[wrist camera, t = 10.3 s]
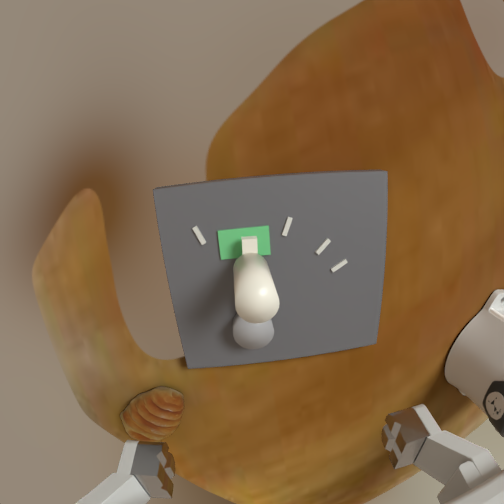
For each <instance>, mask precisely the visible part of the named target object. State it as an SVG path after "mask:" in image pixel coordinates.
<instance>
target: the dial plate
mask: <svg viewBox="0 0 504 504" xmlns="http://www.w3.org/2000/svg"><path fill="white" fill-rule="evenodd" d="M387 192H388V188H387V171H384V170H348V171H324V172H305V173H289V174H276V175H263V176H251V177H240V178H230V179H221V180H211V181H203V182H194V183H186V184H178V185H171V186H164V187H157V188H155V189H153V195H154V202H155V209H156V215H157V222H158V228H159V234H160V240H161V246H162V252H163V256H164V262H165V268H166V273H167V278H168V283H169V288H170V293H171V297H172V303H173V307H174V312H175V316H176V321H177V325H178V329H179V334H180V338H181V342H182V347H183V351H184V355H185V359H186V363H187V367H188V369H190V368H206V367H219V366H231V365H241V364H251V363H260V362H269V361H277V360H284V359H292V358H299V357H305V356H312V355H318V354H324V353H330V352H336V351H341V350H347V349H352V348H357V347H362V346H367V345H372V344H376V341H377V334H378V326H379V319H380V310H381V301H382V292H383V281H384V269H385V254H386V235H387ZM246 236H257V246H258V254H259V255H261V256H262V257H264V258H265V260H266V261H267V264H268V267H269V270H270V273H271V276H272V279H273V282H274V285H275V288H276V291H277V294H278V297H279V309H278V311H277V313H276V314H275V316H274V317H273V318H271V320H272V324H273V328H274V336H273V338H272V340H271V341H270V342H269V343H268V344H267V345H266V346H264V347H262V348H259V349H246V348H244V347H242V346H240V345H239V344H238V343H237V342H236V341H235V339H234V336H233V319H234V317H235V315H236V314H237V312H236V308H235V293H234V274H233V267H234V263H235V261H236V260H237V259H238V258H239V257H240V256H241V255H242V239H241V237H246Z"/></svg>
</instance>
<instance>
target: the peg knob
mask: <svg viewBox="0 0 504 504" xmlns="http://www.w3.org/2000/svg"><path fill="white" fill-rule="evenodd" d="M241 239H242V255H241V256H240V257H239V258H238V259H237V260H236V261H235V263H234V267H233V274H234V293H235V308H236V312H237V314H236V315H235V317H234V319H233V336H234V339H235V341H236V342H237V343H238V344H239V345H240V346H242V347H244V348H246V349H259V348H262V347H264V346H266V345H267V344H268V343H269V342H270V341H271V340H272V338H273V336H274V328H273V324H272V320H271V318H273V317H274V316H275V314H276V313H277V311H278V309H279V297H278V294H277V291H276V288H275V285H274V282H273V279H272V276H271V273H270V270H269V267H268V264H267V261H266V260H265V258H264V257H262V256H261V255H259V254H258V246H257V236H246V237H241Z"/></svg>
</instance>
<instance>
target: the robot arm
mask: <svg viewBox="0 0 504 504" xmlns="http://www.w3.org/2000/svg"><path fill="white" fill-rule="evenodd" d="M445 377H446V380H447V381H448V382H449V383H450V384H452V385H453V386H455V387H456V388H458V390H459V392H460V393H461V394H462V395H464V396H467V397H468V398H470V399H471V400H472V401H473V402H474V403H475V404H476V405H477V406H478V407H479V408H480V409H481V410H482V411H483V412H484V413H485V414H486V415H487V416H488V418H489V420H490V422H491V423H492V425H493V426H494V427H495V429H496V431H497V432H499V433H500V435H501V436H502V437H504V290H496V291H494V292H493V293H492V295H491V296H490V298H489V299H488V301H487V302H486V304H485V306H484V307H483V309H482V310H481V311H480V312H479V313H478V314H477V315H476V316H475V317H474V318H473V319H472V320H471V321H470V322H469V323H468V325H467V326H466V327H465V328H464V330H463V331H462V332H461V334H460V335H459V336H458V338H457V340H456V341H455V343H454V345H453V346H452V348H451V350H450V353H449V355H448V358H447V361H446V365H445ZM385 421H386V423H387V424H386V425H385V426H384V427H383V429H382V442H383V445H384V447H385V449H387V450H388V451H390V455H389V459H390V461H391V463H392V465H393V467H394V469H397V468H400V467H404V466H407V465H410V464H413V463H414V465H415V466H417V467H418V468H420V469H421V470H423V471H424V472H426V473H427V474H429V475H430V476H432V477H433V478H435V479H436V480H438V481H439V482H441V483H442V484H444V485H445V487H444V488H443V489H442V490H441V492H440V493H439V494H438V496H437V497H438V500H439V502H440V504H504V470H501V469H500V467H499V465H498V464H497V462H496V461H495V459H494V458H493V456H492V455H491V453H490V452H489V450H487V449H486V448H483V447H481V446H478V445H476V444H474V443H472V442H470V441H467V440H465V439H463V438H461V437H458V436H456V435H454V434H452V433H450V432H448V431H446V430H444V431H441V429H440V428H439V426H438V425H437V423H436V421H435V420H434V418H433V417H432V415H431V414H430V412H429V411H428V409H427V408H426V406H425V405H424V404H420V405H417V406H414V407H411V408H407V409H404V410H401V411H397V412H394V413H391V414H388V415H387V416H386V419H385ZM168 449H169V447H168V445H167V443H166V442H149V441H136V440H127V441H126V442H125V444H124V447H123V451H122V454H121V458H120V462H119V465H118V469H117V473H112V474H111V475H110V476H108V477H107V478H106V479H105V480H104V481H103V482H101V483H100V484H99V485H98V486H96V487H95V488H94V489H93V490H92V491H90V492H89V493H88V494H87V495H85V496H84V497H83V498H82V499H80V500H79V501H78V502H77V503H75V504H147V502H148V501H149V500H150V499H151V498H150V497H153V498H172V493H173V483H172V481H171V480H170V479H171V478H172V477H174V475H175V461H174V457H173V455H172V454H171V453H170V452H168Z"/></svg>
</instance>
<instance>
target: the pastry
mask: <svg viewBox="0 0 504 504" xmlns="http://www.w3.org/2000/svg"><path fill="white" fill-rule="evenodd" d="M183 409H184V399H183V395H182V394H181V393H180V392H178V391H176V390H174V389H171V388H168V387H163V386H159V387H156V388H154V389H153V390H150V391H147V392H144V393H140V394H138V395H137V397H136V398H134V399H133V400H132V401H131V402H130V404H129V405H128V406H127V407H126V409H125V410H124V411H123V412H121V414H120V418H121V420H122V422H123V425H124V427H125V430H126V432H127V433H128V435H129V436H131V437H132V438H133V439H135V440H137V441H149V442H160V440H162V439H164V438H166V437H168V436H170V435H171V434H172V433H173V432H174V430H175V429H176V428H177V427H178V426H179V424H180V421H181V418H182V412H183Z"/></svg>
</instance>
